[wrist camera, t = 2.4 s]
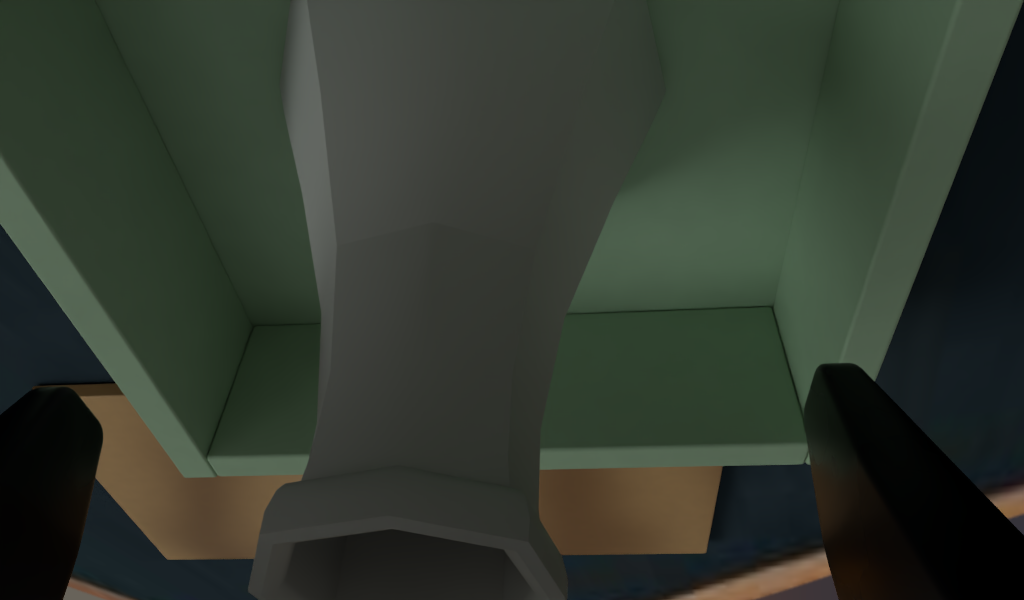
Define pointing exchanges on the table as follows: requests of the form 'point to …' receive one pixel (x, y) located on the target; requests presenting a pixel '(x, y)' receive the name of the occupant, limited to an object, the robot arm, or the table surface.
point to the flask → (445, 278)
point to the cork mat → (243, 499)
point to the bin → (611, 268)
